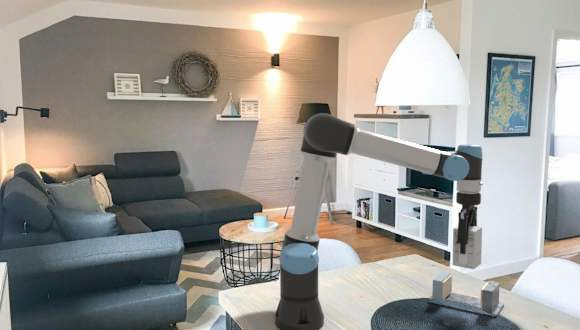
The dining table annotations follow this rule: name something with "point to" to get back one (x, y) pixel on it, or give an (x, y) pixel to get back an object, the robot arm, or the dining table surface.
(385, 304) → the dining table surface
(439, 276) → the block
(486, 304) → the vise
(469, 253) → the supplement box
